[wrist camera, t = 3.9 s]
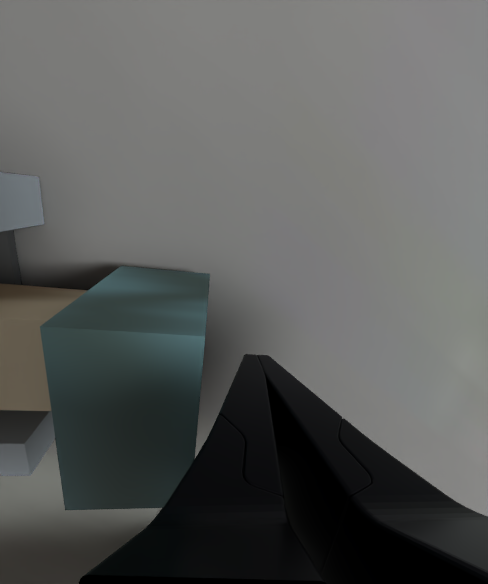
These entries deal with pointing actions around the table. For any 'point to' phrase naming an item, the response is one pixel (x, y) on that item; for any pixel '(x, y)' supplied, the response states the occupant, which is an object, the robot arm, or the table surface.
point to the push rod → (111, 379)
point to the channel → (5, 270)
